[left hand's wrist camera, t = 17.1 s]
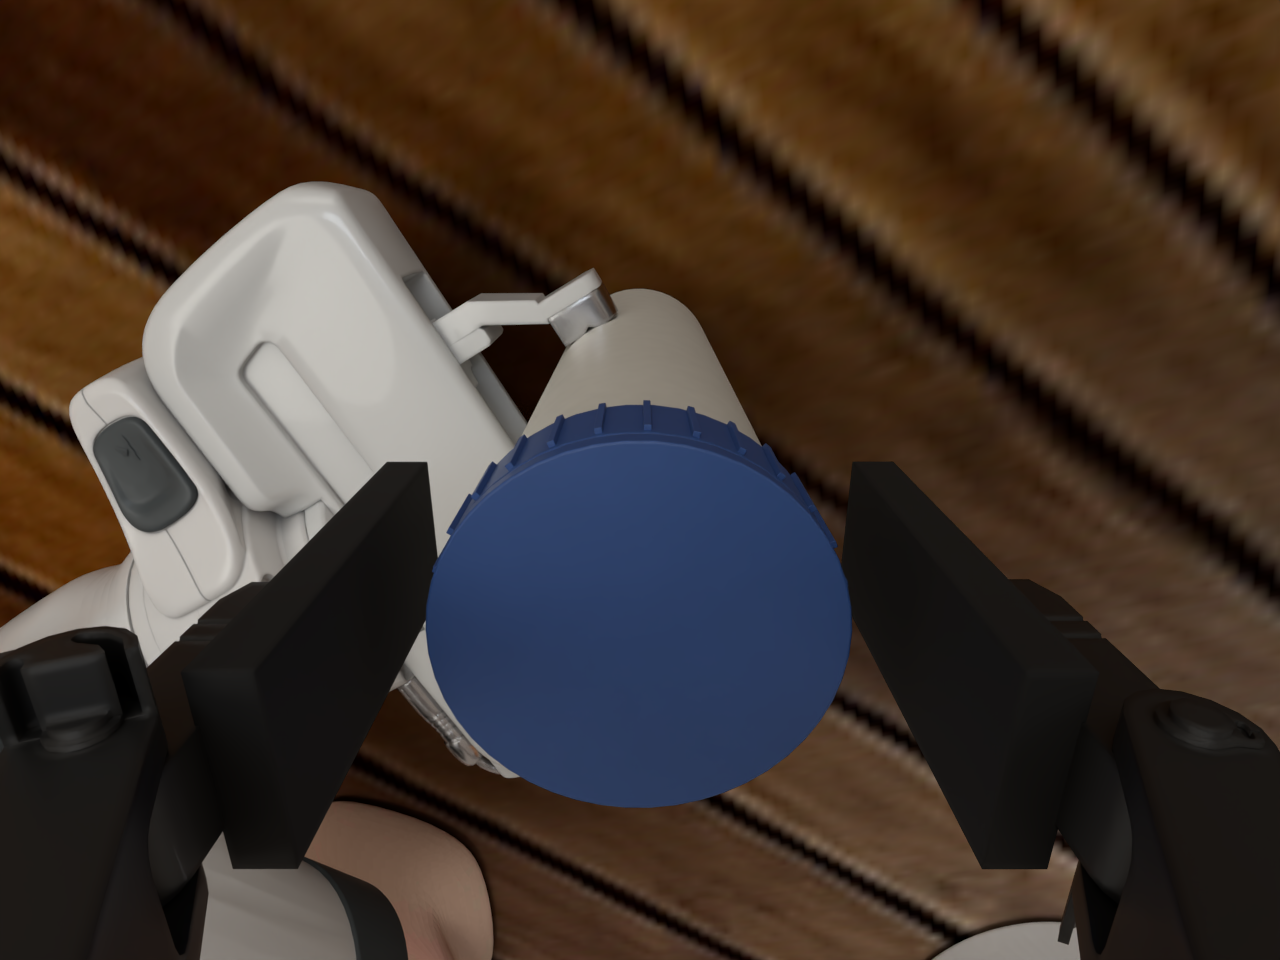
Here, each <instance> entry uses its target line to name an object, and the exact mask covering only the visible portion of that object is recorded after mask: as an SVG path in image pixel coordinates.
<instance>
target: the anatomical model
mask: <svg viewBox="0 0 1280 960" xmlns="http://www.w3.org/2000/svg"><path fill="white" fill-rule="evenodd" d="M304 857H307V858H309V859H312V860H314V861H317V862H319V863H321V864H324V865H326V866H329V867H331V868H334V869H336V870H339V871H341V872H344V873H346V874H349V875H351V876H354V877H356V878H359V879H361V880H364V881H366V882H368V883H370V884H372V885H374V886H375V887H376V888H378V889H379V890H380V891H381V892H382V893H383V894H384V895H385V896H386V897H387V898H388V900H389V901H390V902H391V904H392V906H393V907H394V909H395V911H396V913H397V915H398V917H399V920H400V922H401V925H402V928H403V932H404V936H405V940H406V946H407V953H408V960H491V958H492V953H493V922H492V914H491V908H490V903H489V897H488V893H487V889H486V885H485V881H484V878H483V875H482V872H481V870H480V867H479V865H478V863H477V861H476V860H475V858H474V856H473V855H472V854H471V852H470V851H469V850H468V849H467V848H466V847H465V846H464V845H463V844H462V843H461V842H459V841H458V840H457V839H456V838H455V837H453V836H451V835H450V834H448V833H446V832H445V831H443V830H441V829H439V828H437V827H435V826H433V825H431V824H429V823H426V822H424V821H421V820H419V819H416V818H414V817H411V816H408V815H405V814H402V813H399V812H396V811H392V810H388V809H385V808H381V807H377V806H373V805H368V804H363V803H358V802H352V801H336V802H332V804H331V806H330V807H329V809H328V811H327V813H326V815H325V817H324V819H323V821H322V823H321V825H320V827H319V829H318V831H317V833H316V835H315V837H314V839H313V841H312V842H311V844H310V846H309V848H308V850H307V852H306V854H305V856H304Z"/></svg>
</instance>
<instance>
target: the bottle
mask: <svg viewBox="0 0 1280 960" xmlns="http://www.w3.org/2000/svg"><path fill="white" fill-rule="evenodd" d="M610 296H611V298H612V300H613V302H614V303H615V305H616V307H617V309H618V311H617V315H616V316H615V317H613V318H612V319H611V320H609V321H608V322H606V323H605V324H603V325H600V326H598V327H596V328H595V327H588V329H587V331H586V333H585V334H584V335H583V336H582V337H581V338H579V339H578V340H576V341H575V342H573V343H571V344H569V345H568V346H567V347H566V349H565V351H564V353H563V355H562V357H561V359H560V361H559V363H558V365H557V367H556V369H555V371H554V373H553V375H552V377H551V379H550V381H549V383H548V384H547V386H546V388H545V390H544V392H543V394H542V396H541V398H540V400H539V402H538V404H537V406H536V408H535V410H534V412H533V414H532V416H531V418H530V420H529V422H528V424H527V426H526V428H525V430H524V432H523V434H522V435H525V436H526V437H527V438H528V437H529V436H531V435H533V434H535V433H536V432H538V431H540V430H542V429H543V428H545V427H547V426H549V425H551V424H553V423H554V422H555V419H556V417H557V416H559V415H562V414H563V416H564V418H568V417H570V416H573V415H575V414H579V413H583V412H587V411H591V410H595V409H598V405H599V404H600V403H606V407H612V406H621V405H643V400H650V401H651V405H658V406H665V407H673V408H680V409H683V410H687V407H688V406H691V407H694V408H695V411H696V413H698V414H702V415H705V416H708V417H710V418H713V419H715V420H717V421H720V422H722V423H725V424H728V422H729V421H732V422H734V423H735V424H736V426H737V429H738V431H740V432H741V433H743V434H745V435H747V436H748V437H750V438H751V439H753V440H754V441H755V442H756V443H758V444H759V445H760V446H761V444H760V442H759V440H758V438H757V436H756V434H755V432H754V430H753V428H752V426H751V424H750V422H749V420H748V418H747V416H746V414H745V412H744V410H743V408H742V406H741V404H740V402H739V400H738V398H737V396H736V394H735V392H734V390H733V389H732V387H731V385H730V383H729V381H728V379H727V377H726V375H725V373H724V371H723V369H722V367H721V365H720V363H719V361H718V359H717V357H716V355H715V353H714V351H713V349H712V347H711V345H710V343H709V341H708V339H707V337H706V335H705V333H704V331H703V329H702V327H701V326H700V324H699V322H698V320H697V319H696V318H695V316H694V315H693V314H692V312H691V311H690V310H689V309H688V308H687V307H686V306H684V305H683V304H682V303H681V302H679V301H678V300H676V299H674V298H673V297H671V296H669V295H667V294H664V293H662V292H658V291H654V290H649V289H629V290H623V291H620V292H616V293H614V294H611V295H610Z"/></svg>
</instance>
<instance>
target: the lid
mask: <svg viewBox="0 0 1280 960" xmlns="http://www.w3.org/2000/svg"><path fill="white" fill-rule="evenodd" d="M446 533H447V534H449V535H451V536H450V538H449V539H448V541H447V543H446V545H445V546H444V548H443V550H442V552H441V553H440V555H439V557H438V559H437V560H436V562H435V564H434V566H433V569H432V572H433V573H434V574H433V577H432V580H431V584H430V589H429V594H428V599H427V604H426V626H425V630H426V639H427V648H428V655H429V658H430V662H431V666H432V670H433V673H434V677H435V679H436V682H437V684H438V686H439V689H440V691H441V693H442V696H443V698H444V700H445V702H446V703H447V705H448V707H449V708H450V710H451V711H452V713H453V715H454V716H455V718H456V720H457V721H458V722H459V723H460V725H461V726H462V727H463V728H464V730H465V731H466V732H467V733H468V735H469V736H470V737H471V738H472V739H473V740H474V741H475V742H476V743H477V744H478V745H479V746H480V747H481V748H482V749H483V750H484V751H485V752H486V753H487V754H488V755H490V756H491V757H492V758H494V759H495V760H496V761H498V762H499V763H500V764H502V765H503V766H504V767H506V768H507V769H508V770H510V771H512V772H513V773H515V774H517V775H518V776H520V777H522V778H524V779H525V780H527V781H529V782H531V783H533V784H535V785H537V786H540V787H542V788H544V789H546V790H549V791H551V792H553V793H556V794H560V795H563V796H566V797H569V798H572V799H575V800H579V801H584V802H589V803H594V804H598V805H606V806H615V807H625V808H652V807H662V806H672V805H679V804H684V803H689V802H693V801H698V800H702V799H705V798H708V797H712V796H715V795H718V794H721V793H724V792H726V791H729V790H731V789H733V788H736V787H738V786H740V785H742V784H745V783H747V782H749V781H750V780H752V779H754V778H756V777H757V776H759V775H761V774H763V773H764V772H766V771H768V770H769V769H770V768H772V767H773V766H775V765H776V764H777V763H779V762H780V761H781V760H783V759H784V758H785V757H787V756H788V755H789V754H790V753H791V752H792V751H793V750H794V749H795V748H796V747H797V746H798V745H800V744H801V743H802V742H803V741H804V740H805V739H806V737H807V736H808V735H809V734H810V733H811V731H812V730H813V729H814V728H815V727H816V725H817V724H818V723H819V722H820V720H821V719H822V717H823V715H824V714H825V712H826V711H827V709H828V707H829V706H830V704H831V703H832V701H833V699H834V697H835V694H836V692H837V690H838V688H839V685H840V683H841V681H842V678H843V675H844V671H845V668H846V664H847V661H848V657H849V652H850V644H851V636H852V609H851V602H850V596H849V591H848V581H847V579H846V577H845V575H844V573H843V570H842V567H841V564H840V561H839V558H838V557H837V555H836V553H835V551H834V548H836V547H838V546H837V543H836V541H835V539H834V538H833V536H832V534H831V532H830V531H829V529H828V527H827V526H826V524H825V522H824V520H823V519H822V517H821V515H820V514H819V512H818V510H817V508H816V507H815V505H814V503H813V501H812V500H811V498H810V496H809V495H808V493H807V491H806V489H805V488H804V486H803V484H802V483H801V481H800V479H799V477H798V476H797V475H796V473H795V472H794V473H793V474H791V475H790V474H789V473H788V472H787V470H786V469H785V468H784V467H783V466H782V465H781V464H780V463H779V462H778V460H777V458H776V457H775V455H774V453H773V451H772V449H771V447H770V446H769V445H767V444H766V443H765V444H764V445H763V446H760V445H759V444H758V443H756V442H755V441H754V440H753V439H751V438H750V437H748V436H747V435H745V434H743V433H741V432H740V431H738V429H737V426H736V424H735V423H734V422H732V421H729V422H728V424H725V423H722V422H720V421H717V420H715V419H713V418H710V417H708V416H705V415H702V414H698V413H696V411H695V408H694V407H691V406H688V407H687V410H683V409H680V408H673V407H665V406H658V405H651V401H650V400H643V405H621V406H612V407H606V403H600V404H599V405H598V409H595V410H591V411H587V412H583V413H579V414H575V415H573V416H570V417H568V418H564V416H563V414H562V415H559V416H557V417H556V419H555V422H554V423H553V424H551V425H549V426H547V427H545V428H543V429H542V430H540V431H538V432H536V433H535V434H533V435H531V436H529V437H528V438H527V437H526V436H525V435H522V436H521V437H519V439H518V441H517V443H516V445H515V447H514V448H513V449H512V450H511V451H510V452H509V453H508V454H507V455H506V456H505V457H504V458H503V459H502V460H501V461H500V462H499V463H498V464H495V463H494V462H493V461H492V462H491V463H490V464H489V466H488V467H487V469H486V471H485V473H484V474H483V476H482V478H481V480H480V481H479V483H478V485H477V487H476V488H475V490H474V492H473V493H472V495H471V494H468V496H467V497H466V499H465V501H464V503H463V504H462V506H461V508H460V509H459V511H458V513H457V514H456V516H455V518H454V520H453V521H452V523H451V525H450V526H449V528H448V530H447V532H446Z"/></svg>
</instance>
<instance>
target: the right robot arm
mask: <svg viewBox="0 0 1280 960" xmlns="http://www.w3.org/2000/svg"><path fill="white" fill-rule="evenodd" d="M617 311H618V309H617V307H616V305H615V303H614V302H613V300H612V298H611V296H610V295H609V293H608V291H607V289H606V287H605V286H604V284H603V282H602V280H601V279H600V277H599V275H598V274H597V272H596V270H595V269H594V268H592V269H590V270H588V271H586V272H584V273H583V274H581V275H580V276H578V277H576V278H575V279H573V280H571V281H570V282H568V283H567V284H565V285H563V286H562V287H560V288H558V289H557V290H555V291H554V292H552V293H550V294H549V295H547V296H544V294H543V293H481V294H479V295H477V296H476V297H474V298H472V299H470V300H469V301H467V302H465V303H464V304H462V305H461V306H459V307H457V308H456V309H454V310H452V308H451V307H450V305H449V304H448V302H447V301H446V299H445V298H444V296H443V295H442V293H441V292H440V290H439V289H438V287H437V286H436V284H435V283H434V281H433V280H432V278H431V277H430V275H429V274H428V272H427V271H426V269H425V268H424V266H423V265H422V263H421V262H420V260H419V259H418V257H417V256H416V254H415V253H414V251H413V250H412V248H411V247H410V245H409V244H408V242H407V241H406V239H405V238H404V237H403V235H402V234H401V232H400V231H399V229H398V228H397V226H396V225H395V223H394V221H393V220H392V218H391V217H390V215H389V214H388V212H387V211H386V209H385V208H384V206H383V205H382V203H381V202H380V201H379V199H378V198H377V197H376V196H375V195H374V194H372V193H371V192H369V191H366V190H363V189H359V188H355V187H351V186H347V185H343V184H337V183H331V182H306V183H300V184H297V185H294V186H291V187H289V188H287V189H285V190H283V191H281V192H279V193H278V194H276V195H275V196H273V197H272V198H270V199H269V200H268V201H266V202H265V203H263V204H262V205H261V206H259V207H258V208H257V209H256V210H254V211H253V212H252V213H250V214H249V215H248V216H246V217H245V218H244V219H243V220H242V221H240V222H239V223H238V224H237V225H235V226H234V227H233V228H232V229H231V230H229V231H228V232H227V233H226V234H225V235H224V236H222V237H221V238H220V239H219V240H218V241H217V242H216V243H215V244H213V245H212V246H211V247H210V248H209V249H208V250H207V251H206V252H205V253H204V254H203V255H201V256H200V257H199V258H198V259H197V260H196V261H195V262H194V263H193V264H192V265H191V266H190V267H189V268H188V269H187V270H186V271H185V272H184V273H183V274H182V275H181V276H180V277H179V278H178V279H177V280H176V281H175V282H174V283H173V284H172V286H171V287H170V288H169V289H168V290H167V291H166V292H165V294H164V295H163V296H162V297H161V298H160V300H159V301H158V303H157V304H156V306H155V307H154V309H153V311H152V312H151V314H150V316H149V319H148V321H147V324H146V327H145V330H144V335H143V342H142V353H143V357H141V358H139V359H137V360H134V361H132V362H130V363H128V364H126V365H123V366H121V367H119V368H117V369H115V370H113V371H111V372H110V373H108V374H106V375H104V376H102V377H101V378H99V379H97V380H95V381H94V382H92V383H91V384H89V385H87V386H86V387H84V388H83V389H82V390H80V391H79V392H78V393H77V394H76V395H75V396H74V397H73V399H72V400H71V403H70V407H69V414H70V419H71V423H72V426H73V428H74V431H75V433H76V435H77V437H78V439H79V441H80V443H81V445H82V447H83V449H84V451H85V453H86V455H87V457H88V459H89V461H90V462H91V464H92V466H93V468H94V470H95V472H96V474H97V476H98V478H99V480H100V482H101V484H102V486H103V488H104V490H105V492H106V494H107V496H108V499H109V501H110V503H111V505H112V507H113V509H114V511H115V514H116V516H117V518H118V520H119V523H120V525H121V527H122V530H123V532H124V534H125V537H126V540H127V542H128V545H129V547H130V550H131V552H130V553H129V555H128V556H127V557H126V559H125V560H124V561H123V563H122V564H120V565H116V566H111V567H107V568H102V569H99V570H96V571H93V572H90V573H88V574H85V575H83V576H81V577H79V578H77V579H75V580H73V581H71V582H69V583H67V584H65V585H64V586H62V587H60V588H59V589H57V590H56V591H54V592H52V593H51V594H49V595H48V596H46V597H45V598H43V599H41V600H40V601H38V602H37V603H35V604H34V605H32V606H31V607H29V608H28V609H27V610H25V611H24V612H22V613H21V614H19V615H18V616H16V617H15V618H13V619H12V620H11V621H9V622H8V623H7V624H5V625H4V626H3V627H1V628H0V658H2V657H4V656H5V655H7V654H9V653H11V652H12V651H14V650H16V649H17V648H20V647H22V646H25V645H27V644H30V643H32V642H35V641H37V640H40V639H42V638H45V637H47V636H51V635H55V634H59V633H63V632H67V631H71V630H75V629H80V628H89V627H99V626H110V627H119V628H126V629H128V630H129V631H131V632H133V633H134V634H136V635H137V636H138V640H139V643H140V647H141V650H142V654H143V657H144V661H145V664H146V668H147V667H148V666H149V665H150V664H151V663H152V662H153V661H154V660H155V659H156V658H158V657H159V656H160V655H161V654H162V653H163V652H164V651H165V650H166V649H167V648H168V647H169V646H170V645H171V644H172V643H174V642H175V641H179V640H180V636H181V635H182V634H183V633H184V632H185V631H186V630H187V629H188V628H189V627H191V626H192V625H193V624H197V623H198V619H199V618H200V617H201V616H202V615H203V614H204V613H205V612H206V611H208V610H209V609H210V608H211V607H212V606H213V605H214V604H215V603H216V602H217V601H218V600H219V599H221V598H223V597H225V596H226V595H228V594H230V593H232V592H234V591H236V590H238V589H239V588H241V587H243V586H245V585H247V584H249V583H251V582H270V580H271V579H272V578H273V577H274V576H275V575H276V574H277V573H278V572H279V571H280V570H281V569H282V568H283V567H284V566H285V565H286V564H287V563H288V562H289V561H290V560H291V559H292V558H293V557H294V556H295V555H296V554H297V553H298V552H299V551H300V550H301V549H302V548H303V547H304V546H305V545H306V544H307V543H308V542H309V541H310V540H311V539H312V538H313V537H314V536H315V535H316V534H317V533H318V532H319V531H320V529H321V528H322V527H323V526H324V525H325V524H326V523H327V522H328V521H329V520H330V519H331V518H332V517H333V516H334V515H335V514H336V513H337V512H338V511H339V510H340V509H341V508H342V507H343V506H344V505H345V504H346V503H347V502H348V501H349V500H350V499H351V498H352V497H353V496H354V495H355V494H356V493H357V492H358V491H359V490H360V489H361V488H362V487H363V486H364V485H365V484H366V483H367V482H368V481H369V480H370V479H371V477H372V476H373V475H374V474H375V473H376V472H377V471H378V470H379V469H380V468H381V467H382V466H383V465H384V464H385V463H386V462H427V463H428V472H429V481H430V491H431V500H432V509H433V518H434V527H435V536H436V545H437V554H438V557H439V555H440V553H441V552H442V550H443V548H444V546H445V545H446V543H447V541H448V539H449V538H450V536H451V535H449V534H447V533H446V532H447V530H448V528H449V526H450V525H451V523H452V521H453V520H454V518H455V516H456V514H457V513H458V511H459V509H460V508H461V506H462V504H463V503H464V501H465V499H466V497H467V496H468V494H471V495H472V493H473V492H474V490H475V488H476V487H477V485H478V483H479V481H480V480H481V478H482V476H483V474H484V473H485V471H486V469H487V467H488V466H489V464H490V463H491V462H492V461H493V462H494V463H495V464H498V463H499V462H500V461H501V460H502V459H503V458H504V457H505V456H506V455H507V454H508V453H509V452H510V451H511V450H512V449H513V448H514V447H515V445H516V443H517V441H518V439H519V437H521V436H522V434H523V432H524V430H525V428H526V426H527V424H528V423H527V421H526V420H525V418H524V417H523V415H522V414H521V412H520V411H519V409H518V408H517V406H516V405H515V403H514V402H513V400H512V399H511V397H510V396H509V394H508V393H507V391H506V390H505V388H504V387H503V385H502V384H501V382H500V381H499V379H498V378H497V376H496V375H495V373H494V372H493V370H492V369H491V367H490V366H489V364H488V363H487V361H486V360H485V358H484V357H483V355H482V354H481V351H482V350H484V349H485V348H487V347H488V346H490V345H491V344H492V343H493V342H494V341H495V340H496V339H497V338H498V337H499V336H500V335H501V334H502V333H503V328H502V326H501V325H523V324H549V323H550V324H551V325H552V327H553V328H554V330H555V331H556V333H557V334H558V336H559V337H560V339H561V341H562V342H563V344H564V345H565V347H566V346H568V345H569V344H571V343H573V342H575V341H576V340H578V339H579V338H581V337H582V336H583V335H584V334H585V333H586V331H587V329H588V327H595V328H596V327H598V326H600V325H603V324H605V323H606V322H608V321H609V320H611V319H612V318H613V317H615V316H616V315H617ZM425 626H426V621H425V623H424V625H423V627H422V629H421V631H420V632H419V634H418V636H417V638H416V640H415V642H414V644H413V646H412V648H411V650H410V652H409V654H408V656H407V658H406V660H405V662H404V664H403V666H402V667H401V669H400V671H399V673H398V675H397V677H396V679H395V681H394V683H393V685H392V687H391V689H390V691H392V690H394V689H396V688H397V689H398V691H399V692H400V693H401V694H402V695H403V697H404V698H405V699H406V700H407V701H408V703H409V704H410V705H411V706H412V707H413V708H414V710H415V711H416V712H417V713H418V714H419V715H420V716H421V717H422V718H423V719H424V720H425V721H426V722H427V723H429V724H430V725H431V726H432V727H433V728H434V729H435V730H436V731H437V732H438V733H439V734H440V736H441V737H442V738H443V740H444V743H445V745H446V747H447V748H448V750H449V751H450V752H451V753H452V754H453V756H454V757H455V758H456V759H458V760H459V761H460V762H461V763H463V764H464V765H466V766H472V765H474V764H477V765H478V766H479V767H481V768H483V769H485V770H487V771H489V772H492V773H496V774H500V775H502V776H504V777H506V778H516V777H520V776H518V775H517V774H515V773H513V772H512V771H510V770H508V769H507V768H506V767H504V766H503V765H502V764H500V763H499V762H498V761H496V760H495V759H494V758H492V757H491V756H490V755H488V754H487V753H486V752H485V751H484V750H483V749H482V748H481V747H480V746H479V745H478V744H477V743H476V742H475V741H474V740H473V739H472V738H471V737H470V736H469V735H468V733H467V732H466V731H465V730H464V728H463V727H462V726H461V725H460V723H459V722H458V721H457V720H456V718H455V716H454V715H453V713H452V711H451V710H450V708H449V707H448V705H447V703H446V702H445V700H444V698H443V696H442V693H441V691H440V689H439V686H438V684H437V682H436V679H435V677H434V673H433V670H432V666H431V662H430V658H429V655H428V648H427V639H426V630H425ZM390 691H389V692H390ZM3 748H4V745H3V743H2V740H1V738H0V753H1V751H2V749H3ZM202 864H203V868H204V871H205V875H206V879H207V885H208V892H209V895H208V903H207V910H206V918H205V925H204V932H203V940H202V947H201V955H200V960H408V953H407V946H406V940H405V936H404V932H403V928H402V925H401V922H400V920H399V917H398V915H397V913H396V911H395V909H394V907H393V906H392V904H391V902H390V901H389V900H388V898H387V897H386V896H385V895H384V894H383V893H382V892H381V891H380V890H379V889H378V888H376V887H375V886H374V885H372V884H370V883H368V882H366V881H364V880H361V879H359V878H356V877H354V876H351V875H349V874H346V873H344V872H341V871H339V870H336V869H334V868H331V867H329V866H326V865H324V864H321V863H319V862H317V861H314V860H312V859H309V858H307V857H304V858H303V860H302V862H301V864H300V866H299V868H298V869H233V868H232V864H231V860H230V857H229V853H228V849H227V845H226V841H225V838H224V834H223V832H222V833H221V835H220V836H219V838H218V839H217V841H216V842H215V844H214V845H213V847H212V848H211V850H210V851H209V853H208V854H207V856H206V857H205V859H204V860H203V862H202ZM1060 924H1061V922H1030V923H1021V924H1015V925H1009V926H1004V927H1000V928H996V929H993V930H989V931H986V932H983V933H980V934H977V935H975V936H972V937H970V938H968V939H965V940H963V941H961V942H959V943H957V944H955V945H953V946H952V947H950V948H948V949H946V950H945V951H943V952H942V953H940V954H939V955H937V956H936V957H935V958H933V959H932V960H1080V952H1079V945H1078V938H1077V930H1076V928H1074V929H1073V932H1072V935H1071V938H1070V942H1069V945H1067V944H1064V943H1061V942H1058V935H1059V929H1060Z"/></svg>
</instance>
